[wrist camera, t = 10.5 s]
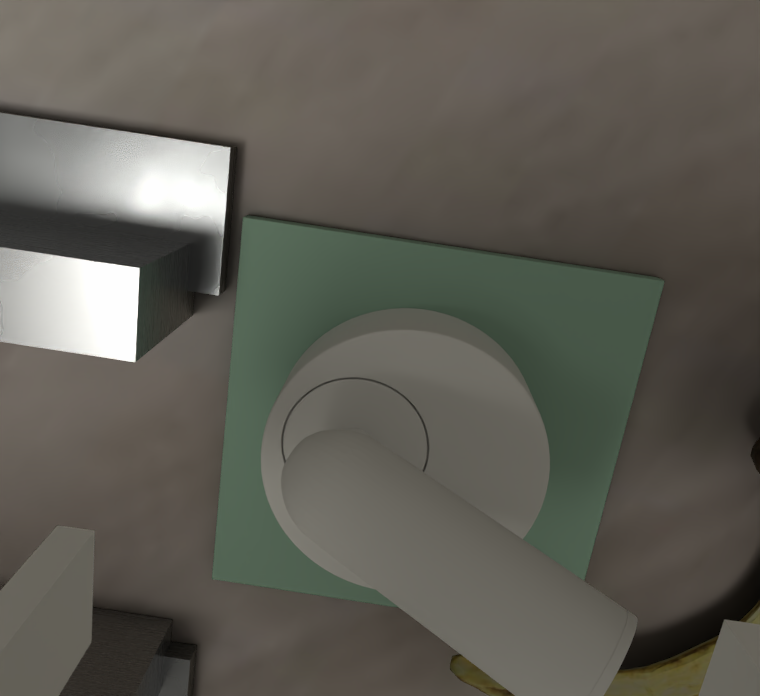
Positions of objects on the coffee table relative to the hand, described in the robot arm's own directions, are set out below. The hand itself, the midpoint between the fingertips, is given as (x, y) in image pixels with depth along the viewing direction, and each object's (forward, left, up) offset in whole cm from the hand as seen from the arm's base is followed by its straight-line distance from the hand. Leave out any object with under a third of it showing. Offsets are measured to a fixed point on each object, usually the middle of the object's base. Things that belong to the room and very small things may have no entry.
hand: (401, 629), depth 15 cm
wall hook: (+1, 0, -9) cm, 9 cm away
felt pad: (0, 0, -10) cm, 10 cm away
